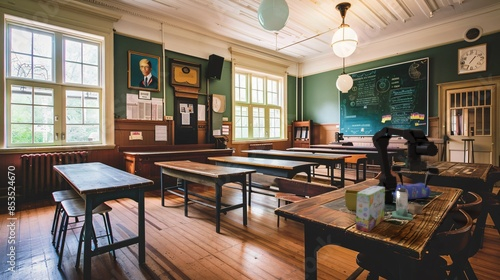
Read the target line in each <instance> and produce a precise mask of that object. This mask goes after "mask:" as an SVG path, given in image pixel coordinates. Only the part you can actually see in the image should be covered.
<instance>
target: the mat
mask: <svg viewBox="0 0 500 280" xmlns="http://www.w3.org/2000/svg"><path fill="white" fill-rule="evenodd" d="M412 214H413V213H408V216H399V215H396V211H391V215H392V218H395V219H401V220H408V221H413V220H414V218H413V215H412Z"/></svg>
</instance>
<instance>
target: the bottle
mask: <svg viewBox="0 0 500 280" xmlns="http://www.w3.org/2000/svg"><path fill="white" fill-rule="evenodd" d="M408 200H409V199H408V192H407V191H406V188H398V191H396V198H395V207H396V208H395V212H396V215H399V216H408V214H409V213H408V212H409V210H408V204H409V203H408Z"/></svg>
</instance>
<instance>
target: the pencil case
mask: <svg viewBox="0 0 500 280" xmlns="http://www.w3.org/2000/svg"><path fill="white" fill-rule="evenodd" d="M398 188H406V191H407V192H408V200H416V199H421V198H422V199H423V198H429V197H430V195H431V189H430V187H429V186H428V185H427V187H426V188H425V183H423V182H417V183H413V184H404V183H403V186H402V184H401V183H398V184H397V188H396V191H398ZM396 191H395V192H392V194H393V198H395V199H396Z"/></svg>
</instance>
